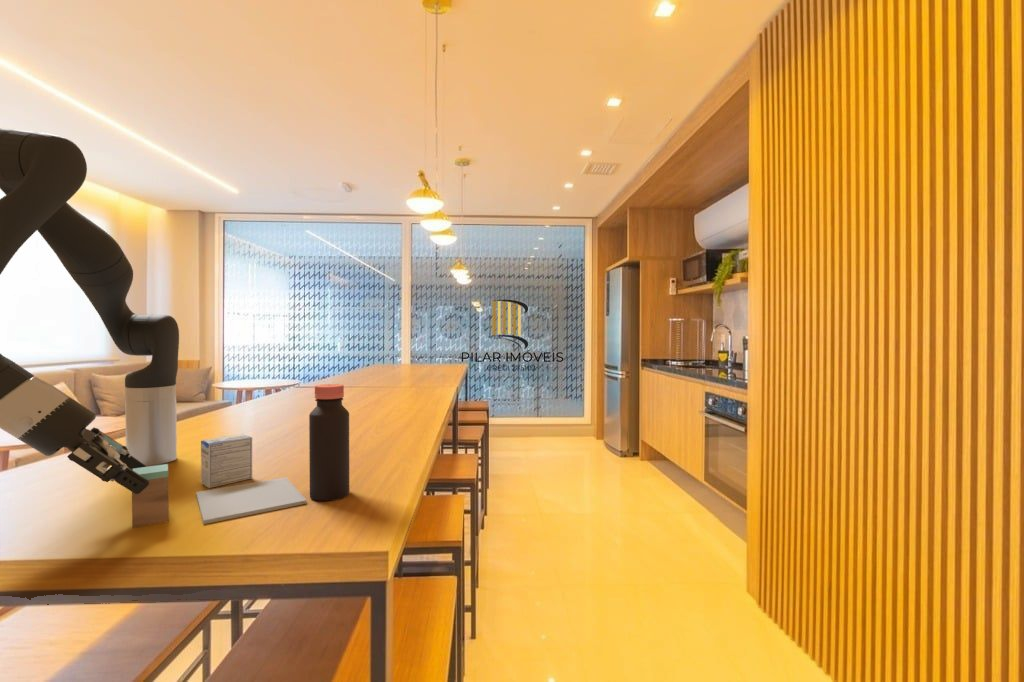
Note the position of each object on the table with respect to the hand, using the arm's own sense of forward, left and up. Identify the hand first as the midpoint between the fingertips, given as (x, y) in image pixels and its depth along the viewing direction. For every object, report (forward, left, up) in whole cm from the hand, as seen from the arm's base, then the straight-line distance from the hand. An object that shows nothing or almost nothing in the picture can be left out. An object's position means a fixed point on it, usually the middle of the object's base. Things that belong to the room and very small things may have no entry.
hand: (144, 481), depth 75 cm
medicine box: (-15, +13, -6) cm, 21 cm away
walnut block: (0, +1, -6) cm, 6 cm away
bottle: (+5, +27, -6) cm, 28 cm away
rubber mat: (-1, +15, -6) cm, 16 cm away
